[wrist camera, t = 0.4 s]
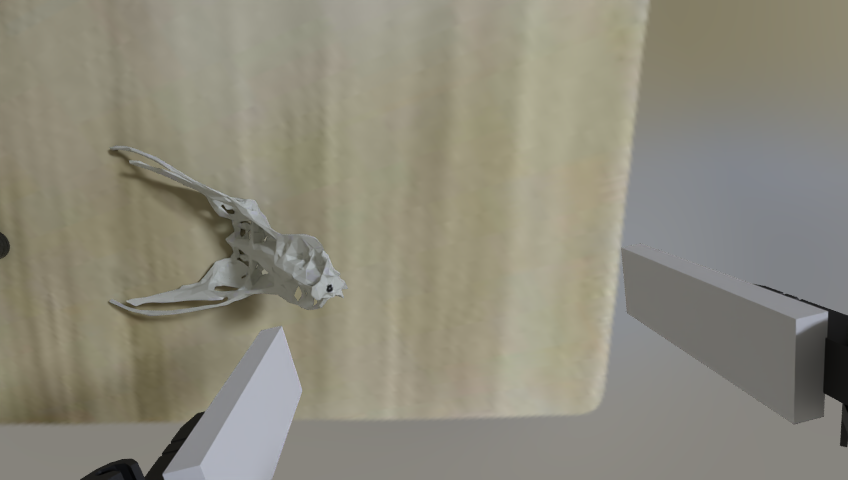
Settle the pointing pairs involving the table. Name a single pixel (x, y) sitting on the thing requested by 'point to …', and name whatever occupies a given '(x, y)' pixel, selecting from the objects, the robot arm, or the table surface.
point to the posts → (4, 246)
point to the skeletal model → (250, 258)
